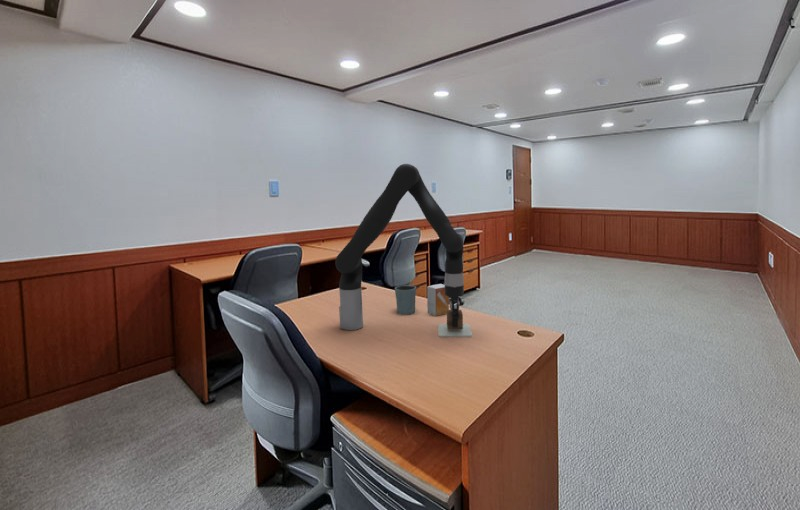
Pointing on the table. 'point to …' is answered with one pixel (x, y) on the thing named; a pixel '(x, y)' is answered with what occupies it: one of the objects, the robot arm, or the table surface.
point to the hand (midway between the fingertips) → (454, 323)
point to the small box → (437, 300)
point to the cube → (449, 320)
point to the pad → (454, 331)
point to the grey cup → (405, 299)
